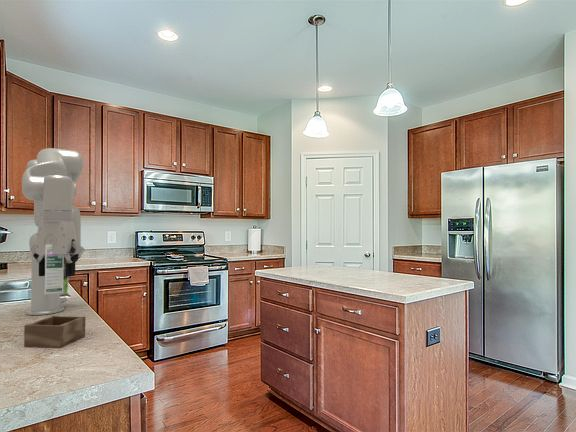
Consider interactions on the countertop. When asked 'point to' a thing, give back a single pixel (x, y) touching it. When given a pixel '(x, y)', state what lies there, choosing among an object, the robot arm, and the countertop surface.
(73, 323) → the walnut holder
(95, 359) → the countertop surface
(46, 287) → the syrup box
